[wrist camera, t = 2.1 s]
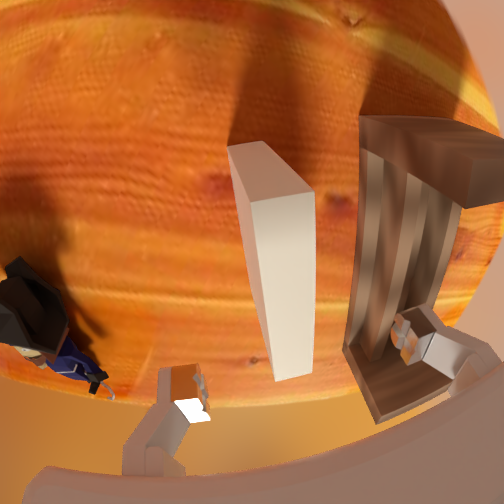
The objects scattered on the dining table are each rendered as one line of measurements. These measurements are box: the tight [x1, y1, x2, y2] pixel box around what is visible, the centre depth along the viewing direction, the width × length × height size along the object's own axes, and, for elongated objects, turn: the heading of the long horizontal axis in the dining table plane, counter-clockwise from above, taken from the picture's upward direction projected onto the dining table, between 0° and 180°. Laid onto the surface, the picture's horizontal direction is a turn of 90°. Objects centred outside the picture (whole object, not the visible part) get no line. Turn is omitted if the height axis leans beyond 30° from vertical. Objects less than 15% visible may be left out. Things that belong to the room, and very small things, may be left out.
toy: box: [0, 256, 115, 401], centre depth 18 cm, size 9×6×15 cm
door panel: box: [227, 141, 316, 382], centre depth 15 cm, size 10×2×8 cm, turn 7°
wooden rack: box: [342, 115, 504, 424], centre depth 18 cm, size 22×8×9 cm, turn 7°
